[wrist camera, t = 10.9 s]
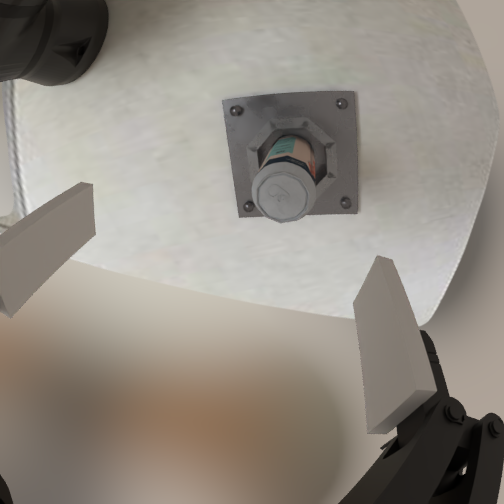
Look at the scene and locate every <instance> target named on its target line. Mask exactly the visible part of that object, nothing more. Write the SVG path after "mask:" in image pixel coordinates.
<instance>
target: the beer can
mask: <svg viewBox="0 0 504 504" xmlns="http://www.w3.org/2000/svg"><path fill="white" fill-rule="evenodd" d="M252 198H253V201H254V203H255V205H256V207H257V209H258V210H259V211H260V212H261V213H262V214H263V215H264V216H265V217H266V218H269V219H271V220H274V221H276V222H279V223H285V222H291V221H297V220H299V219H301V218H303V217H304V216H305V215H307V214H308V213H309V211H310V210H311V209H312V207H313V205H314V203H315V200H316V183H315V160H314V151H313V148H312V146H311V145H310V143H309V142H308V141H307V140H305V139H304V138H302V137H300V136H296V135H287V136H283V137H281V138H279V139H278V140H277V141H276V142H275V143H274V144H273V145H272V147H271V149H270V151H269V152H268V154H267V156H266V158H265V160H264V162H263V164H262V165H261V167H260V169H259V171H258V173H257V175H256V177H255V178H254V180H253V184H252Z"/></svg>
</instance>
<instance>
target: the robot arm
mask: <svg viewBox="0 0 504 504" xmlns="http://www.w3.org/2000/svg"><path fill="white" fill-rule="evenodd" d="M107 26H108V10H107V6H106V3H105V1H104V0H0V82H3V81H7V80H12V79H19V78H21V79H24V80H28V81H31V82H34V83H38V84H41V85H44V86H56V85H64V84H67V83H70V82H72V81H74V80H75V79H77V78H78V77H79V76H81V75H82V74H83V73H84V72H85V71H86V70H87V69H88V68H89V66H90V65H91V64H92V62H93V61H94V59H95V58H96V56H97V54H98V53H99V51H100V49H101V46H102V44H103V42H104V39H105V35H106V31H107ZM95 235H96V232H95V219H94V202H93V184H89V183H84V182H80V183H79V184H77V185H75V186H73V187H72V188H70V189H68V190H67V191H65V192H63V193H62V194H60V195H58V196H57V197H55V198H53V199H52V200H50V201H49V202H47V203H46V204H44V205H42V206H41V207H39V208H38V209H36V210H35V211H33V212H32V213H30V214H29V215H27V216H26V217H25V218H23V219H22V220H20V221H19V222H17V223H16V224H15V225H13V226H12V227H10V228H9V229H8V230H6V231H5V232H4V233H2V234H1V235H0V312H2V313H3V314H4V315H6V316H8V317H9V318H12V317H13V316H14V314H15V313H16V312H17V311H18V310H19V309H20V308H21V307H22V306H23V304H24V303H25V302H26V301H27V300H28V299H29V298H30V297H31V296H32V295H33V293H35V292H36V291H37V290H38V288H40V287H41V286H42V284H43V283H45V281H46V280H47V279H48V278H49V277H50V276H51V275H52V274H54V272H56V270H58V269H59V268H60V267H61V266H62V265H63V264H64V263H65V262H66V261H67V260H68V259H69V258H70V257H71V256H72V255H73V254H75V253H76V252H77V251H78V250H79V249H80V248H81V247H82V246H83V245H84V244H86V243H87V242H88V241H89V240H90V239H91V238H92V237H93V236H95ZM353 307H354V313H355V320H356V326H357V334H358V340H359V349H360V356H361V365H362V374H363V385H364V394H365V395H364V396H365V408H366V423H367V434H387V433H389V432H390V431H391V430H393V429H394V428H395V427H396V426H397V434H398V435H397V436H396V437H394V438H393V439H391V440H390V441H389V442H387V443H386V444H384V445H383V446H382V447H381V448H380V449H382V450H383V449H384V448H386V449H385V450H384V451H383V453H382V454H381V455H380V457H379V458H378V459H377V460H376V461H375V463H374V464H373V466H371V468H370V469H369V470H368V471H367V472H366V474H365V475H364V476H363V477H362V478H361V480H360V481H359V482H358V483H357V484H356V485H355V486H354V487H353V488H352V490H351V491H350V492H349V493H348V494H347V495H346V496H345V497H344V498H343V499H342V500H341V501H340V502H339V503H338V504H497V499H498V494H499V489H500V483H501V477H502V470H503V462H504V423H503V421H502V420H501V418H500V417H499V416H498V415H496V414H494V413H489V414H487V415H485V416H484V417H483V418H482V419H480V420H477V419H474V418H471V417H468V416H467V415H466V411H465V409H464V407H463V405H462V404H461V403H460V402H459V401H458V400H456V399H455V398H453V397H450V396H449V393H448V389H447V385H446V382H445V378H444V375H443V372H442V368H441V365H440V364H439V359H438V356H437V355H436V350H435V347H434V344H433V341H432V340H431V338H430V337H429V336H428V334H427V333H426V331H423V330H419V328H418V325H417V322H416V319H415V316H414V313H413V311H412V308H411V305H410V302H409V300H408V297H407V295H406V292H405V289H404V287H403V284H402V282H401V279H400V277H399V275H398V272H397V270H396V267H395V265H394V263H393V260H392V259H388V258H385V257H381V256H378V255H377V257H376V259H375V261H374V263H373V265H372V267H371V269H370V271H369V273H368V275H367V277H366V279H365V281H364V283H363V285H362V287H361V289H360V291H359V293H358V295H357V297H356V299H355V300H354V302H353ZM466 466H467V469H466V473H465V474H464V475H462V472H463V468H465V467H466ZM0 504H13V501H12V498H11V494H10V491H9V488H8V486H7V484H6V482H5V481H4V479H3V478H2V477H1V475H0Z"/></svg>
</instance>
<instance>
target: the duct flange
mask: <svg viewBox="0 0 504 504" xmlns="http://www.w3.org/2000/svg"><path fill="white" fill-rule="evenodd" d="M222 104H223V111H224V118H225V125H226V132H227V139H228V146H229V153H230V159H231V166H232V173H233V180H234V187H235V193H236V200H237V207H238V213H239V218H241V217H263V216H264V215H263V214H262V213H261V212H260V211H259V210H258V209H257V207H256V205H255V203H254V201H253V198H252V184H253V180H254V178H255V177H256V175H257V173H258V171H259V169H260V167H261V165H262V164H263V162H264V160H265V158H266V156H267V154H268V152H269V151H270V149H271V147H272V145H273V144H274V143H275V142H276V141H277V140H278V139H279V138H281V137H283V136H287V135H296V136H300V137H302V138H304V139H305V140H307V141H308V142H309V143H310V145H311V146H312V148H313V151H314V160H315V183H316V200H315V203H314V205H313V207H312V209H311V210H310V211H309V213H308V214H307V215H322V214H357V210H358V158H357V130H356V113H355V100H354V91H317V92H295V93H281V94H270V95H260V96H251V97H243V98H235V99H228V100H222Z"/></svg>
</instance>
